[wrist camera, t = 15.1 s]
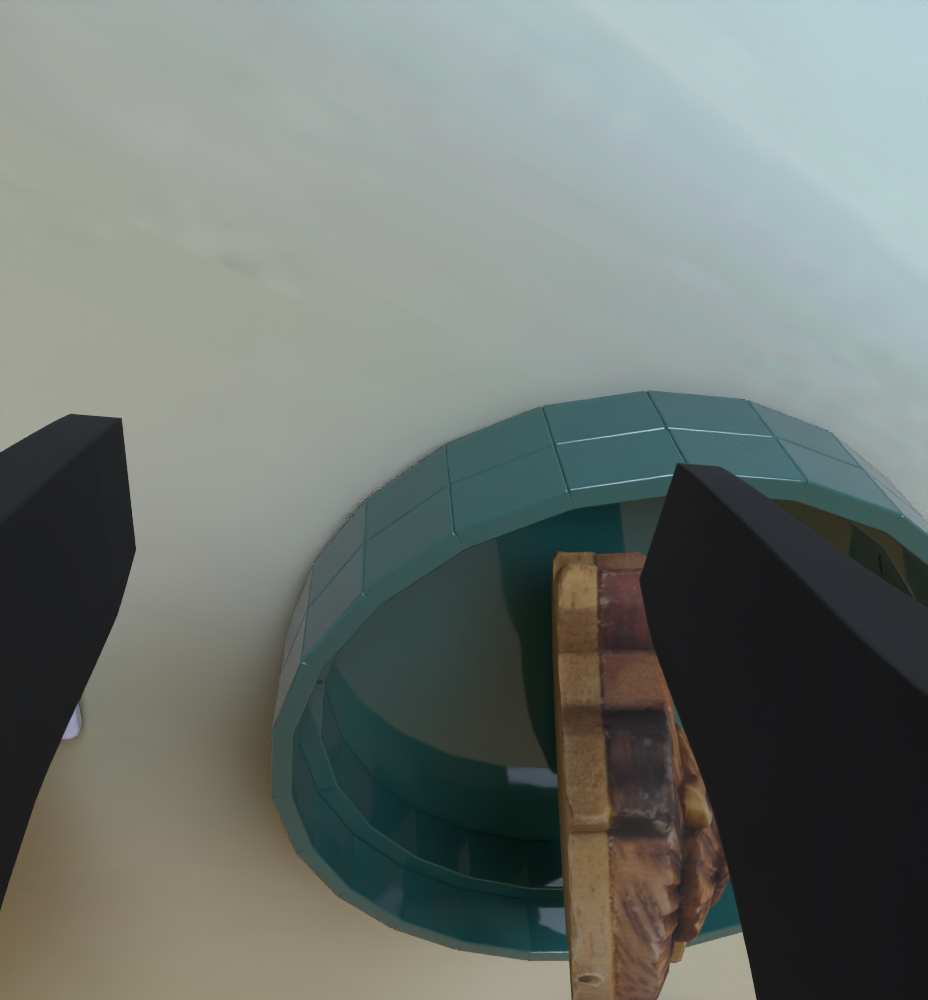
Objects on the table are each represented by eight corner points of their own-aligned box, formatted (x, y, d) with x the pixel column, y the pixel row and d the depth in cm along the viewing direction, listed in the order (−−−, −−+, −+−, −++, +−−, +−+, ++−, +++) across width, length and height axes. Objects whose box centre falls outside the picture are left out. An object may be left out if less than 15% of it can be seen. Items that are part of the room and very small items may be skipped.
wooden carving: (661, 804, 32) (756, 1111, 23) (543, 823, 32) (595, 1134, 23) (642, 436, 22) (788, 731, 14) (475, 467, 22) (521, 775, 14)
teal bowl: (284, 843, 32) (269, 962, 28) (294, 348, 21) (272, 438, 17) (786, 851, 35) (832, 960, 31) (1041, 418, 23) (1162, 508, 20)
